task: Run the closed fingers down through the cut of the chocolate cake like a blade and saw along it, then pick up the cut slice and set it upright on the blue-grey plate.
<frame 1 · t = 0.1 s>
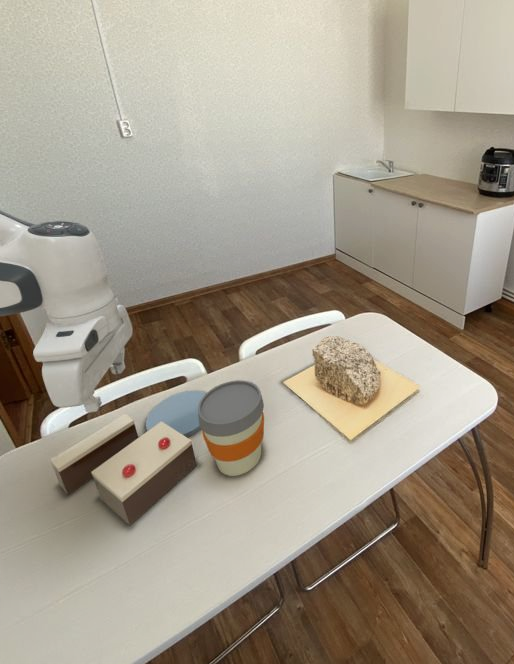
hand: (107, 389, 66), 24 cm above the table, tool pointing down, fingers open, 8 cm apart
plate: (181, 416, 92), on the table
cake: (150, 481, 76), on the table
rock: (350, 387, 101), on the table
cake slice: (102, 464, 80), on the table
reusable coffee cup: (239, 457, 81), on the table
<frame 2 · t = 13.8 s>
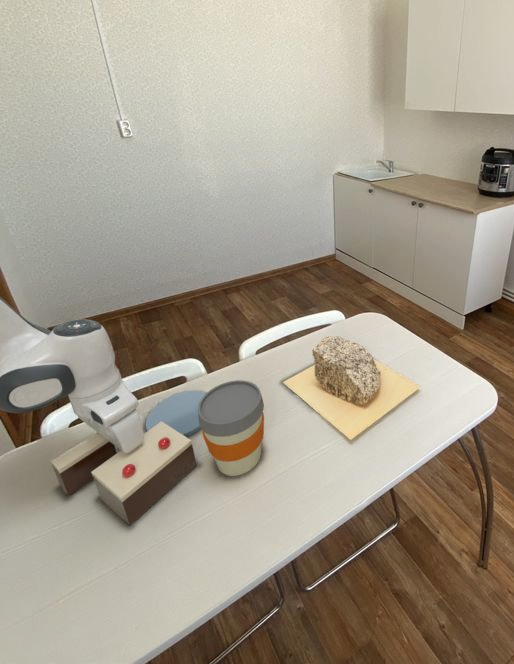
hand: (114, 446, 81), 3 cm above the table, tool pointing down, fingers closed on cake slice, 3 cm apart
cake slice: (103, 465, 80), on the table, touching gripper
everything else where it was.
when the fingers open (4 cm above the table, at t = 21.0 s): cake slice stays where it is, resting on plate.
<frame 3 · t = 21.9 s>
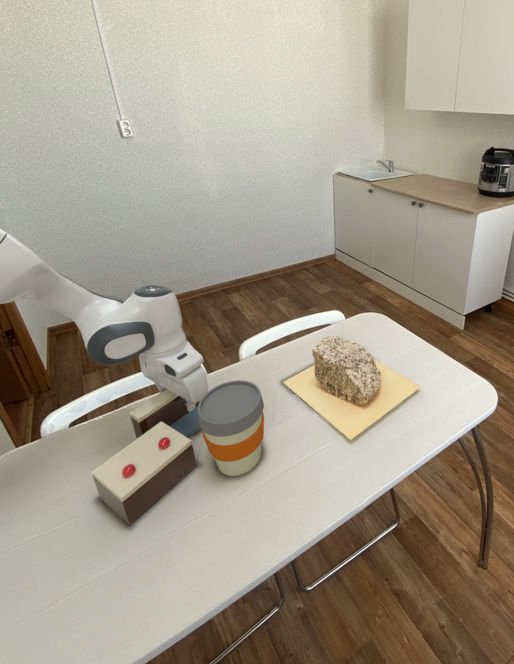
hand: (177, 401, 91), 4 cm above the table, tool pointing down, fingers open, 8 cm apart
cake slice: (170, 419, 90), point 1 cm above the table, touching plate
everything else where it was.
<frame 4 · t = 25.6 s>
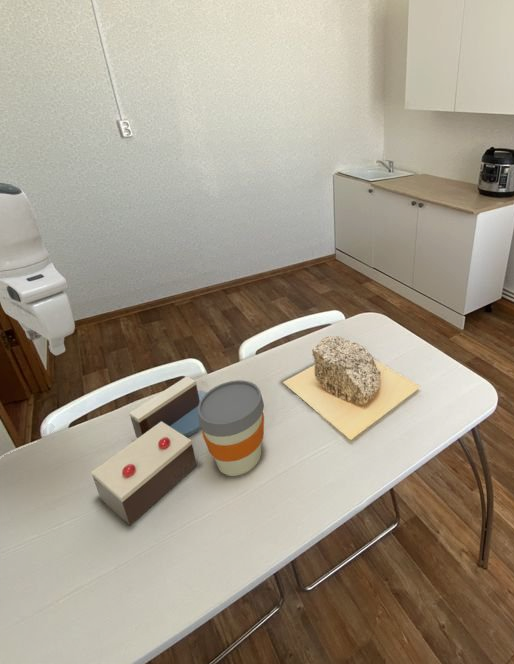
hand: (46, 345, 71), 29 cm above the table, tool pointing down, fingers open, 8 cm apart
nothing on the table moved.
at the end: cake slice touching plate; cake slice inside the target area on the plate (2.8 cm from its centre), point 1.2 cm above the plate's base; cake slice tilted 0° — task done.
